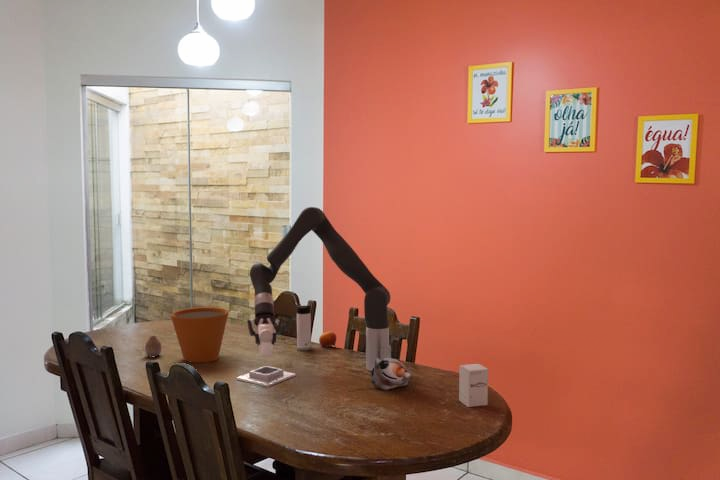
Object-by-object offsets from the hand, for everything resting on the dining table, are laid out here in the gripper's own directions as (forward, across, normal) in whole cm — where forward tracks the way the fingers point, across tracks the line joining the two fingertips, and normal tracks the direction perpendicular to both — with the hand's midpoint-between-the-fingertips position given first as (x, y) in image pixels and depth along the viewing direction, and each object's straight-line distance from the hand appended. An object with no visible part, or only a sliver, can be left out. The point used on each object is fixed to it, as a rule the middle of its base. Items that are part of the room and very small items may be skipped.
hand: (266, 343), depth 232 cm
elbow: (+4, 0, +4) cm, 5 cm away
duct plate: (+9, 0, +11) cm, 14 cm away
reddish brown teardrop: (-20, -46, +40) cm, 65 cm away
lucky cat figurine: (+23, +45, -4) cm, 50 cm away
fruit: (-21, +31, +41) cm, 55 cm away
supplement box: (+39, +67, -20) cm, 80 cm away
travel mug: (-19, +19, +39) cm, 47 cm away
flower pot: (-15, -26, +35) cm, 46 cm away
